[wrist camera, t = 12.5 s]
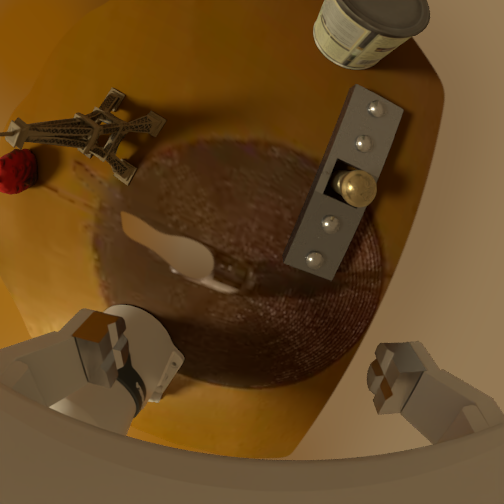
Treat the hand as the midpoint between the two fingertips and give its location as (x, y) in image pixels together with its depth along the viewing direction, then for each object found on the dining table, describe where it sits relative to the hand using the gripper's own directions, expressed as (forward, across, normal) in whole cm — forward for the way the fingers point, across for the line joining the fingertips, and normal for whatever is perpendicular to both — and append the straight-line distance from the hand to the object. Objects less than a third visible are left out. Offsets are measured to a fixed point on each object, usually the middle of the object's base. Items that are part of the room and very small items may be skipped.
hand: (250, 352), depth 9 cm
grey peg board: (+31, -10, -3) cm, 33 cm away
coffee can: (+31, -10, -24) cm, 41 cm away
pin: (+31, -10, -3) cm, 33 cm away
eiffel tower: (+31, +21, -8) cm, 38 cm away
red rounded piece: (+31, +40, -3) cm, 51 cm away
